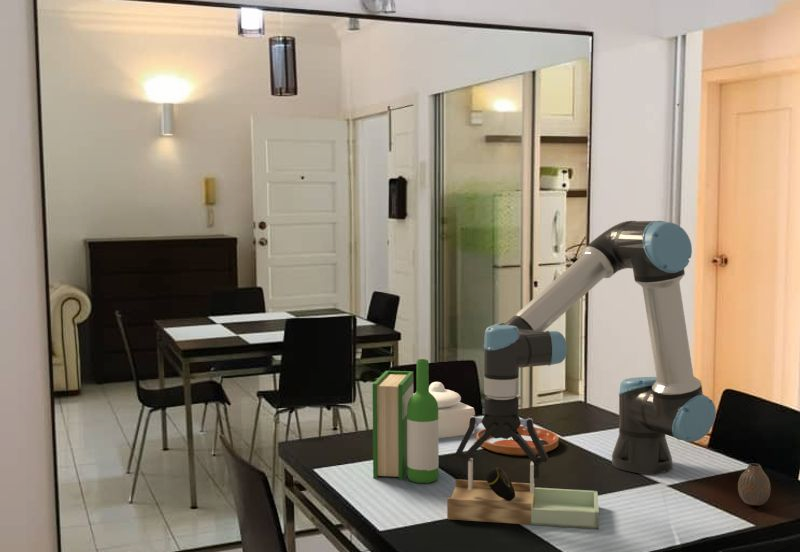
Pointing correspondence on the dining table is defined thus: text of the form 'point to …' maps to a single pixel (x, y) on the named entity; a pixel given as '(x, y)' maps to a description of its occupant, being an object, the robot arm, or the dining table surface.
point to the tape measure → (500, 483)
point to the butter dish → (451, 412)
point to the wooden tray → (490, 503)
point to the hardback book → (391, 423)
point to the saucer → (514, 449)
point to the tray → (565, 508)
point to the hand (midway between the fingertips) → (501, 490)
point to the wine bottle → (422, 430)
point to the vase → (754, 485)
